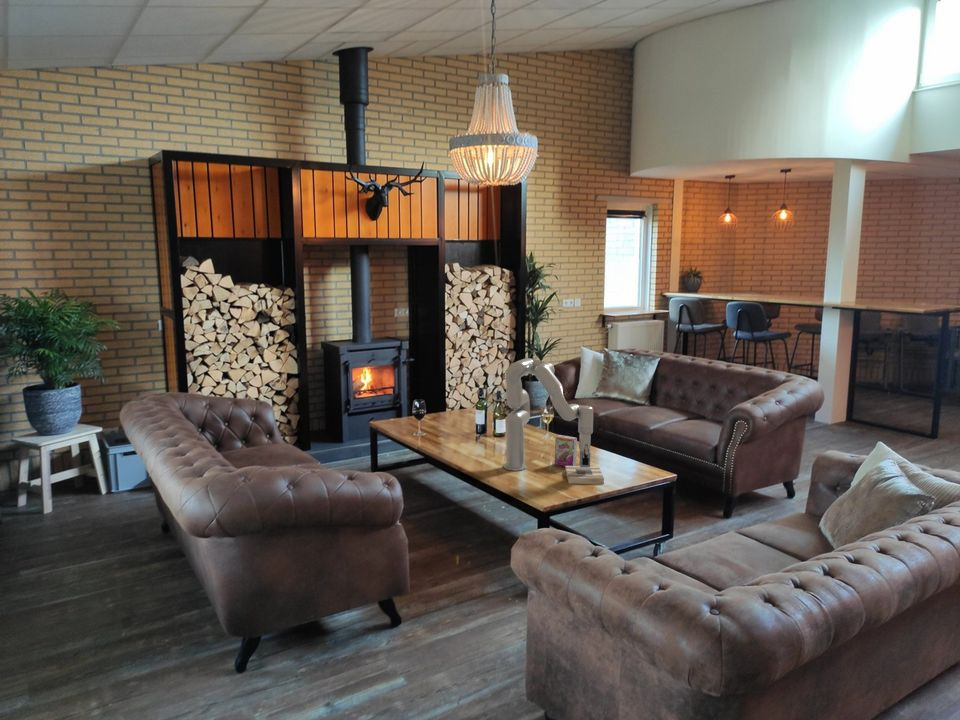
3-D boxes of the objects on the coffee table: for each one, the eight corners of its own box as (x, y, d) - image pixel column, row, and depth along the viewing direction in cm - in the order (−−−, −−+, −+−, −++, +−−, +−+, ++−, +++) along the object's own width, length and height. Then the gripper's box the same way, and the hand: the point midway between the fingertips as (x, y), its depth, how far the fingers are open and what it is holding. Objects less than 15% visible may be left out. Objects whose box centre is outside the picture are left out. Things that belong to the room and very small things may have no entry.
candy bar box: (554, 465, 396) (555, 436, 393) (558, 462, 400) (558, 434, 397) (572, 468, 390) (573, 439, 387) (576, 466, 394) (577, 437, 392)
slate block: (579, 464, 376) (579, 449, 375) (588, 464, 376) (589, 449, 375) (580, 467, 371) (580, 452, 370) (590, 467, 371) (590, 452, 370)
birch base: (565, 471, 385) (565, 465, 385) (598, 471, 385) (598, 466, 384) (568, 483, 365) (568, 477, 365) (603, 483, 365) (604, 477, 364)
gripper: (576, 425, 379) (575, 458, 382) (580, 433, 363) (579, 468, 365) (590, 425, 379) (589, 458, 382) (594, 433, 362) (593, 468, 365)
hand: (584, 463), depth 374 cm, fingers closed on slate block, 5 cm apart
